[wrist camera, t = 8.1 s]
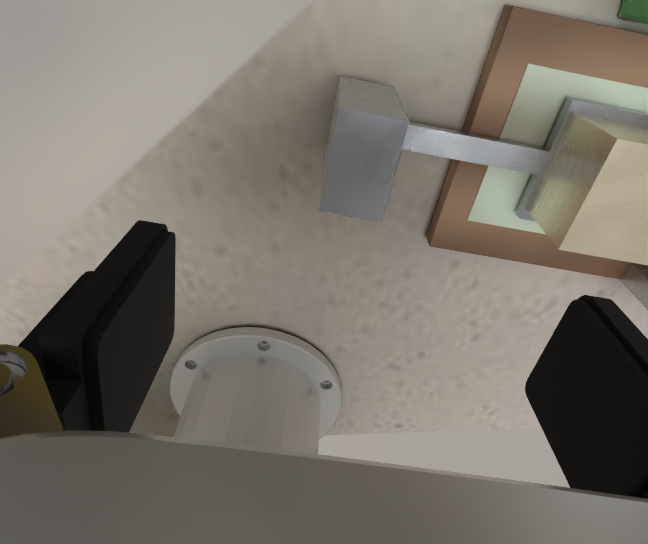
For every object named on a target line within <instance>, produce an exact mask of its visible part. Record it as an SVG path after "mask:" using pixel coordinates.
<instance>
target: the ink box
mask: <svg viewBox="0 0 648 544" xmlns="http://www.w3.org/2000/svg"><path fill="white" fill-rule="evenodd" d="M618 17H619V18H621V19H623V20H627V21H633V22H639V23H645V24H648V0H623V1H622V5H621V9H620V12H619V15H618Z"/></svg>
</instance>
